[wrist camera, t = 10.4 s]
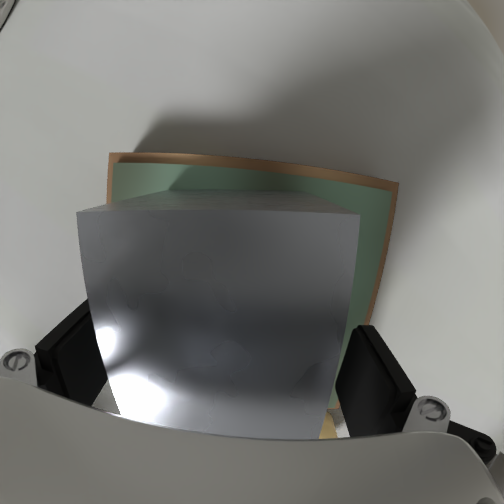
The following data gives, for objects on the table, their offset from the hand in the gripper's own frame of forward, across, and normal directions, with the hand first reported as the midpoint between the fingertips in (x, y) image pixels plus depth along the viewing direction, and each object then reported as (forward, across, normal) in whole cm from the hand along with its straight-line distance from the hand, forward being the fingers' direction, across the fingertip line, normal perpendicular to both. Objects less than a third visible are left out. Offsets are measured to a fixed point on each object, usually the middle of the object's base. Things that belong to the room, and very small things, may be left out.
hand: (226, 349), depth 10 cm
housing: (+4, 0, 0) cm, 4 cm away
